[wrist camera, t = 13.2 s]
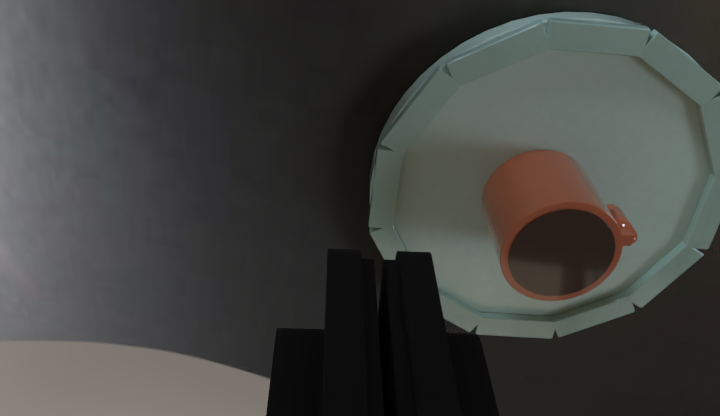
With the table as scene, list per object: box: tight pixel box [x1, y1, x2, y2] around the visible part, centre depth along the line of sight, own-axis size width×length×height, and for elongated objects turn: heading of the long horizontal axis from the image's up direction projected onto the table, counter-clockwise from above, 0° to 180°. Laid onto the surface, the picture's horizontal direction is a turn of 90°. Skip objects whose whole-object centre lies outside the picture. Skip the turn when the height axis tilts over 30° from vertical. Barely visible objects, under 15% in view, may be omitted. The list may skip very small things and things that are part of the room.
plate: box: [368, 12, 720, 339], centre depth 39 cm, size 20×20×2 cm
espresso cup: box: [481, 150, 638, 301], centre depth 36 cm, size 7×6×6 cm
